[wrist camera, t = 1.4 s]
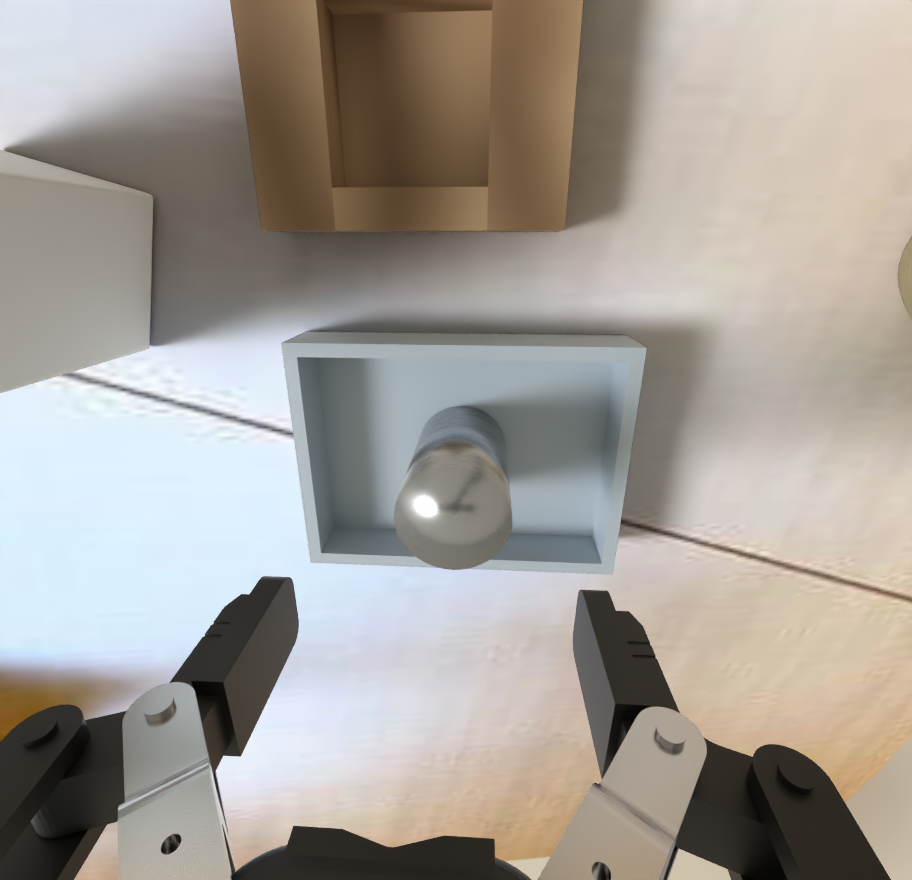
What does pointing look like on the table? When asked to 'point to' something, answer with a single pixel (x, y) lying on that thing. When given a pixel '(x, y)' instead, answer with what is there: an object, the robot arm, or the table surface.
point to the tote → (480, 386)
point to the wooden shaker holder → (409, 112)
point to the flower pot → (906, 277)
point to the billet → (456, 491)
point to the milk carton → (70, 270)
